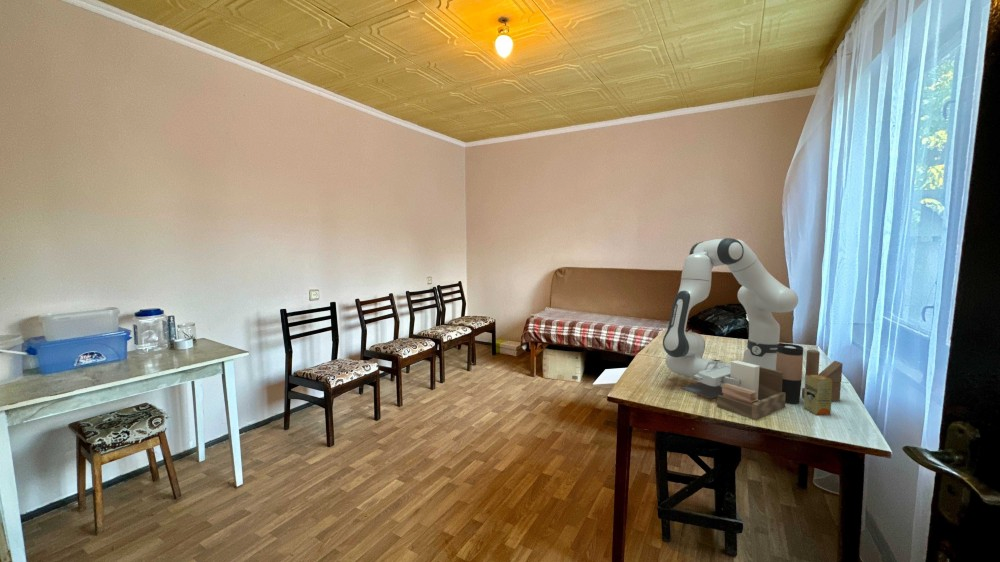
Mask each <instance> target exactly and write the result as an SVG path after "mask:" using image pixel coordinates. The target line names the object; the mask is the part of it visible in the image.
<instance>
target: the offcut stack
mask: <svg viewBox="0 0 1000 562" xmlns="http://www.w3.org/2000/svg"><path fill="white" fill-rule="evenodd" d="M721 387H722V393H723V395H722V396H725V397H728V398H731V399H734V400H737V401H740V402H743V403H747V404H750V405H752V404H753V403H755V402H758V401H759V400H757V399H756V392H755V391H752V390H748V389H745V388H741V387H738V386H735V385H731V384H727V383H725V384H722V385H721Z"/></svg>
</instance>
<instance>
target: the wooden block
mask: <svg viewBox="0 0 1000 562" xmlns="http://www.w3.org/2000/svg"><path fill="white" fill-rule="evenodd" d="M820 355H821V354H820V351H819V350H815V349H807V350H806V361H805V362H806V365H805V378H804V381H805V380H806V375H822V376H825V377H827V378H830V379H832V380H833V384H832V399H831V402H833V401H839V402H840V400H841V389H842V386H841V385H842V384H841V383H842V376H843V375H842V374H843V363H842V362H840V361H837V360H834V361H832V362H831V363H830V364H828V366H827V367H825V368H824V369H823V370H822V371H820V370H819V368H820V367H819V366H820ZM819 371H820V372H819ZM804 395H805V387H803V388H802V387H801V397H802V399H804Z"/></svg>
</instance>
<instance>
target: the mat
mask: <svg viewBox="0 0 1000 562" xmlns="http://www.w3.org/2000/svg"><path fill="white" fill-rule="evenodd" d="M681 390H683V391H686V392H690V393H692V394H696V395H698V396H701V397H704V396H705V397H704V398H707V397H708V398H707V399H710V398H713V399H714V397H715V398H717V396H718V395H722V396H723V393H722V385H719V386H716V387H714V386H709V385H706V384H704V383H701V382H699V381H698V382H695V383H691V384H689V385H685V386H681Z"/></svg>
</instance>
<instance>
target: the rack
mask: <svg viewBox="0 0 1000 562" xmlns="http://www.w3.org/2000/svg"><path fill="white" fill-rule="evenodd" d="M782 381H783V372H780V371H776V370H772V369H767V368H763V367H760V369H759V388H758V402H755V403H753V404H752V405H750V404H747V403H743V402H740V401H737V400H734V399H731V398H728V397H725V396H723V395H718V396H717V397H716V399H717V401H716V402H717V404H716V407H717V408H720V409H723V410H726V411H728V412H731V413H735V414H738V415H740V416H743V417H746V418H748V419H752V420H753V421H756V420H759V419H761V418H763V417H766V416H769V415H770V414H772V413H775V412H776V411H779V410H782V409H784V408H785V407H786V403H785V398H786V393H784V392H782Z"/></svg>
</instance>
